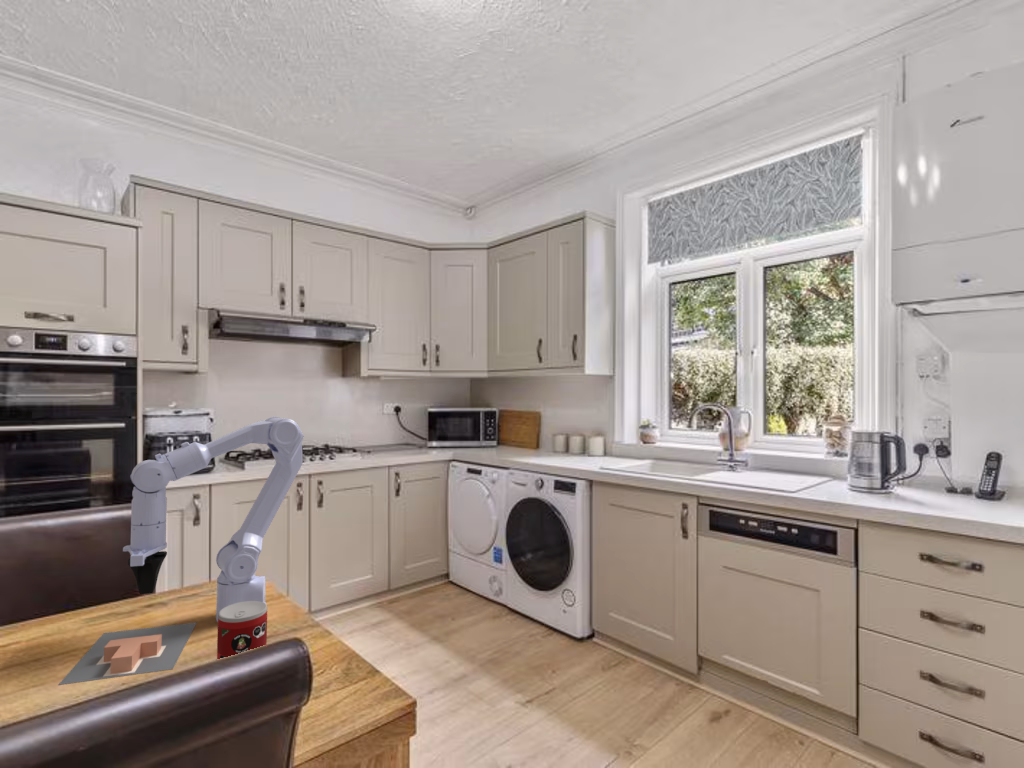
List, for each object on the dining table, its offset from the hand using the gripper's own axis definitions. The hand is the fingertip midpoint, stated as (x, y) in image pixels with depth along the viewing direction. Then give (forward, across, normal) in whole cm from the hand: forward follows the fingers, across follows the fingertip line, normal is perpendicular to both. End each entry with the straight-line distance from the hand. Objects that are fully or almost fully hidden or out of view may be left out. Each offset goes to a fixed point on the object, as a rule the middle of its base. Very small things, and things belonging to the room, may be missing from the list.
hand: (147, 592), depth 105 cm
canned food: (+10, +19, +19) cm, 28 cm away
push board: (+9, +6, 0) cm, 11 cm away
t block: (+8, +11, 0) cm, 13 cm away
